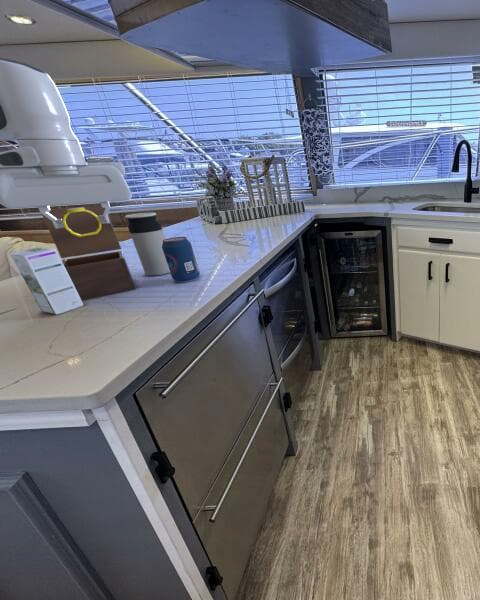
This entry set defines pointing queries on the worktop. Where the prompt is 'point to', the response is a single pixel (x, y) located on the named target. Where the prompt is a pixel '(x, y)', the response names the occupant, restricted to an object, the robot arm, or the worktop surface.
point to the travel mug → (148, 242)
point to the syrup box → (47, 280)
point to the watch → (80, 211)
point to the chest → (99, 274)
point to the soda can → (180, 259)
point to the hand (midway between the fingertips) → (83, 225)
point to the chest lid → (82, 232)
